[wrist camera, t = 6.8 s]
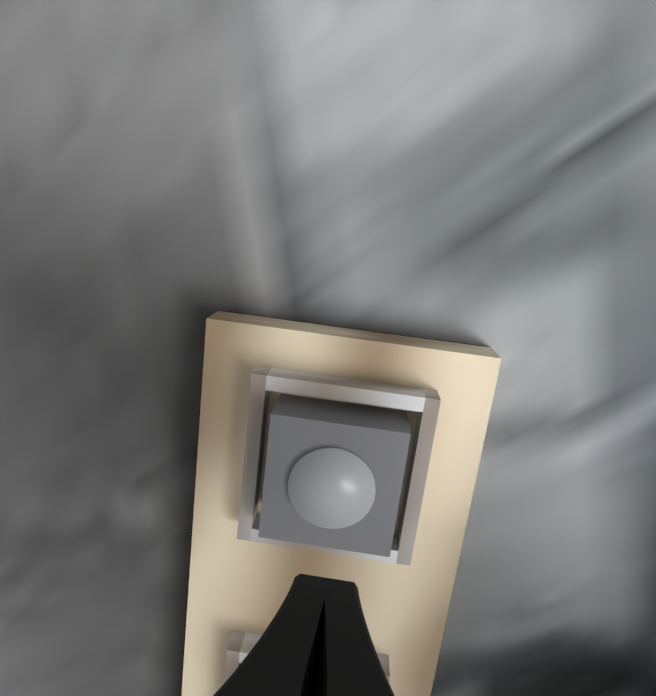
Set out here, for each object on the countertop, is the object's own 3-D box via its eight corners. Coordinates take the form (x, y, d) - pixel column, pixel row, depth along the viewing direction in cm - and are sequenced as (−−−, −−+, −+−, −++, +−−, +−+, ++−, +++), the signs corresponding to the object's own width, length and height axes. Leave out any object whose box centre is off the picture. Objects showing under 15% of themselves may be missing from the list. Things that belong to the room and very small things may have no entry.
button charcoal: (406, 410, 18) (411, 435, 16) (387, 523, 19) (389, 559, 17) (280, 393, 19) (269, 415, 16) (268, 505, 20) (257, 539, 18)
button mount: (491, 347, 19) (508, 366, 17) (404, 773, 24) (408, 835, 22) (218, 311, 20) (196, 324, 17) (188, 736, 24) (168, 793, 22)
